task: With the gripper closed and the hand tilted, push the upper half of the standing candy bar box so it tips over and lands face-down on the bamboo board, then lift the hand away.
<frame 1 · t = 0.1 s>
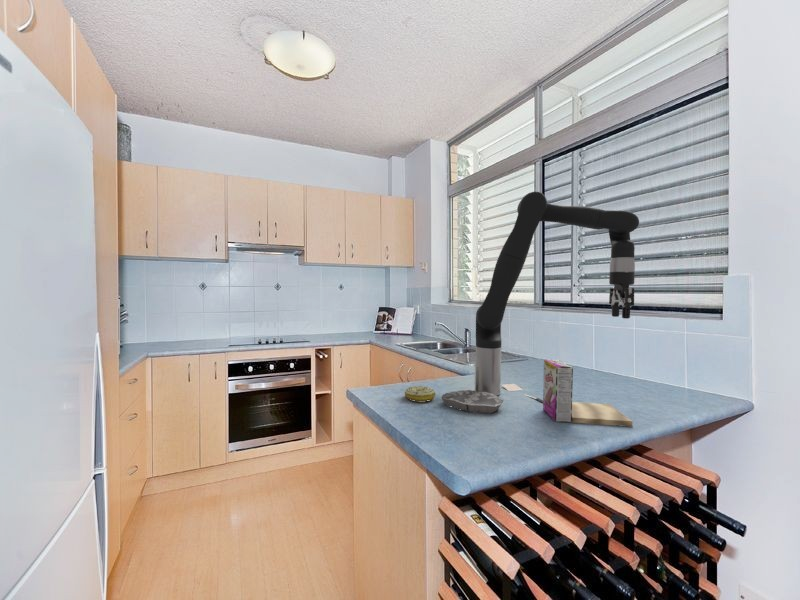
hand: (620, 317, 130), 29 cm above the worktop, tool pointing down, fingers open, 8 cm apart
spatula: (530, 399, 133), on the worktop
flat grey stone: (472, 406, 122), on the worktop
decorated donut: (419, 399, 129), on the worktop
bamboo board: (592, 415, 114), on the worktop
candy bar box: (556, 416, 113), on the worktop
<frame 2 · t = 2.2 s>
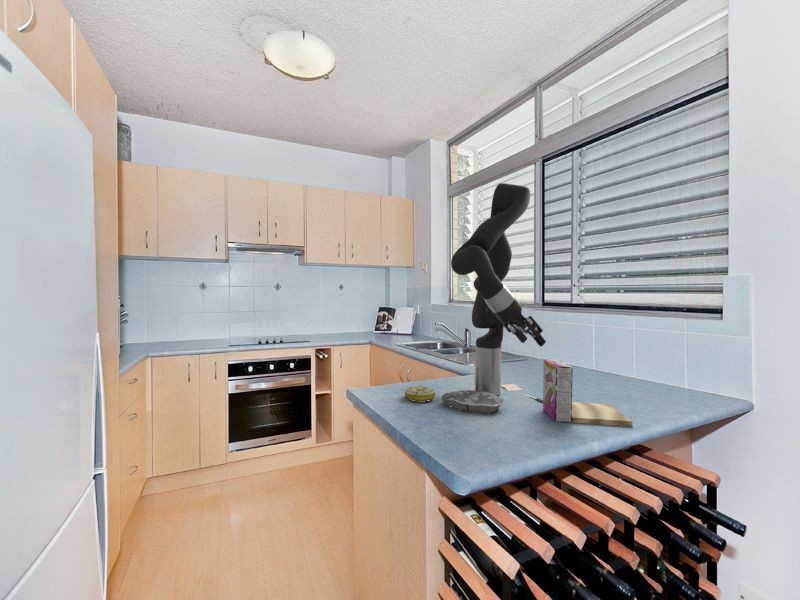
hand: (533, 342, 112), 22 cm above the worktop, tool tilted 45°, fingers open, 8 cm apart
nothing on the worktop moved.
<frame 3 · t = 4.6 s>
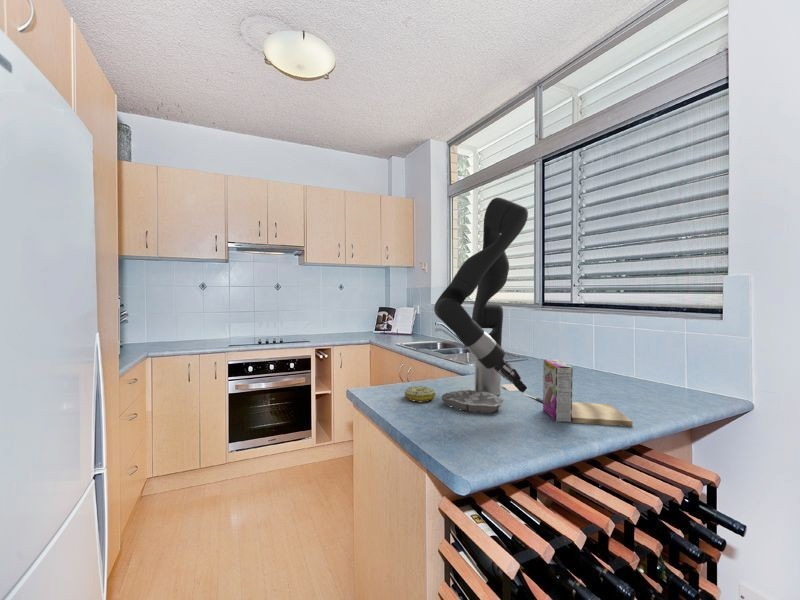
hand: (523, 389, 111), 8 cm above the worktop, tool tilted 45°, fingers closed
nothing on the worktop moved.
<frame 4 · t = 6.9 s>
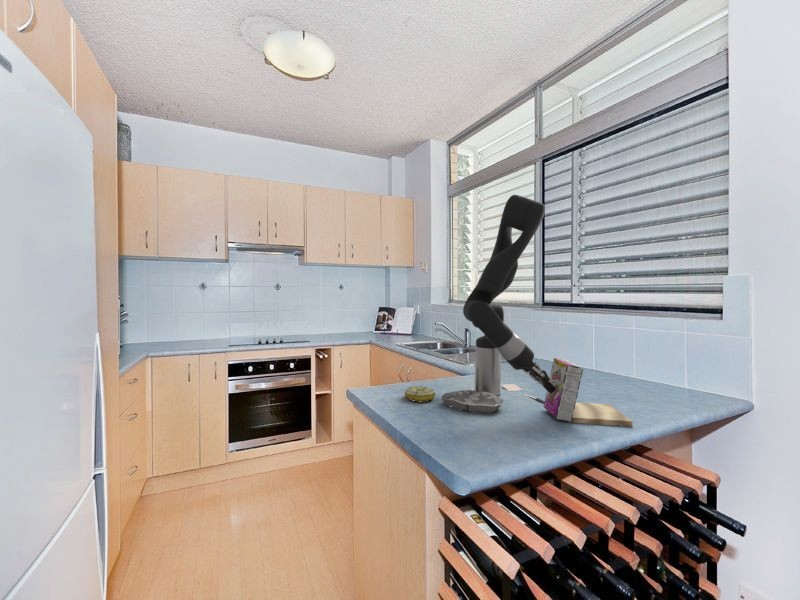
hand: (552, 390, 112), 8 cm above the worktop, tool tilted 45°, fingers closed
candy bar box: (556, 415, 113), on the worktop, touching bamboo board
everything else where it was.
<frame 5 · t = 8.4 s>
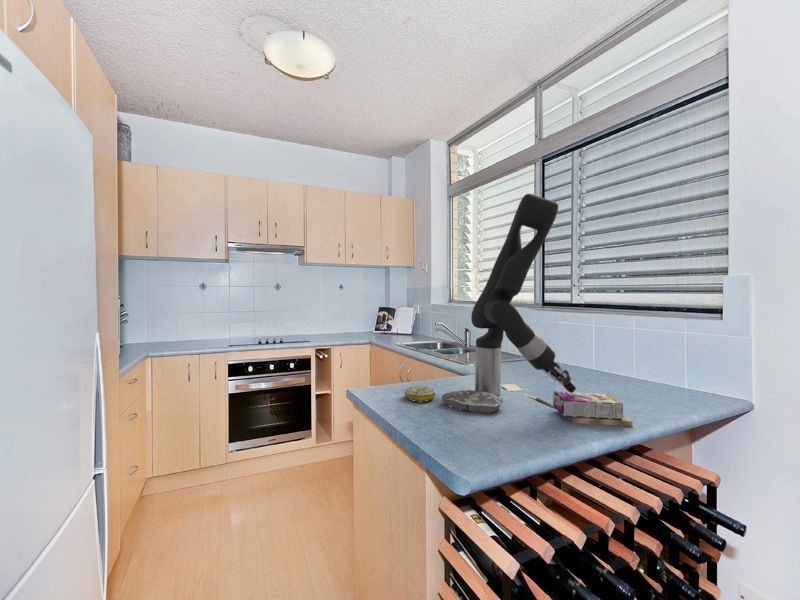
hand: (572, 390, 113), 8 cm above the worktop, tool tilted 45°, fingers closed
candy bar box: (556, 402, 113), point 4 cm above the worktop, touching bamboo board
everything else where it was.
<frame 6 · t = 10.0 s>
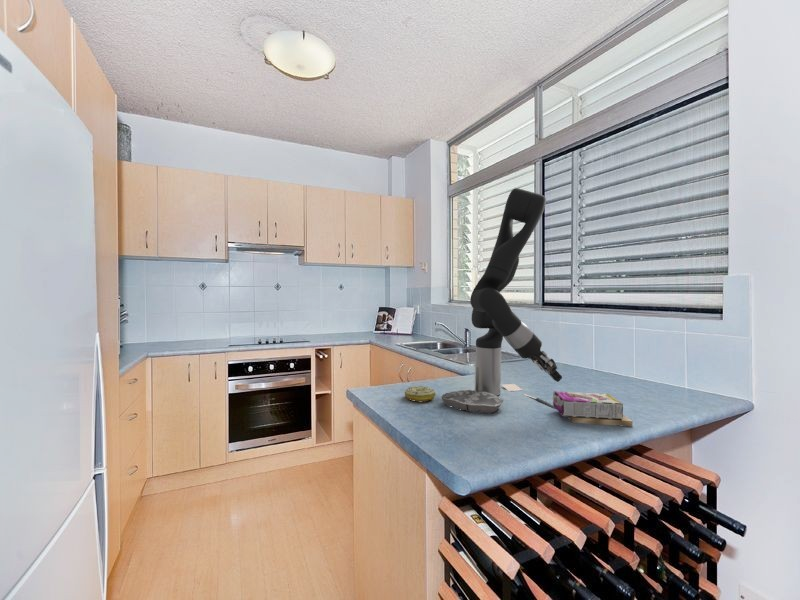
hand: (558, 379, 113), 11 cm above the worktop, tool tilted 45°, fingers closed
nothing on the worktop moved.
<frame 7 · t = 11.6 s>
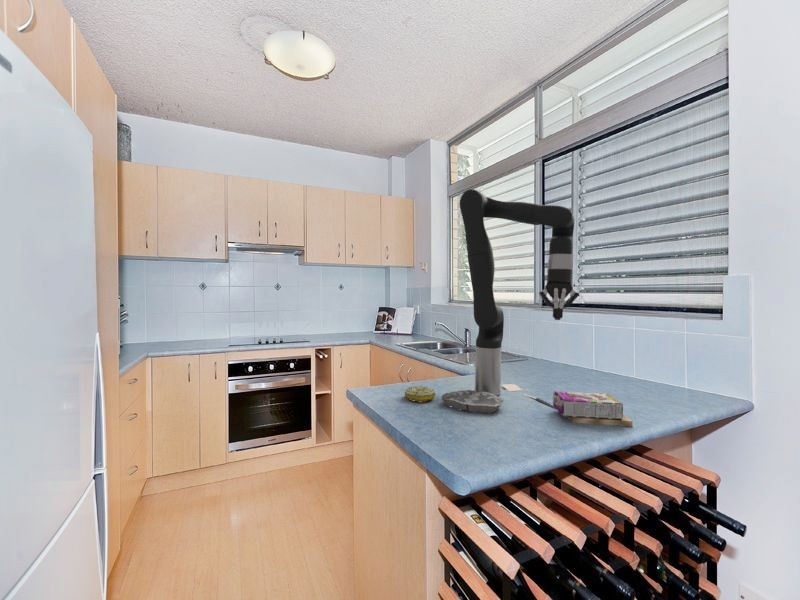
hand: (557, 319, 125), 29 cm above the worktop, tool pointing down, fingers closed
nothing on the worktop moved.
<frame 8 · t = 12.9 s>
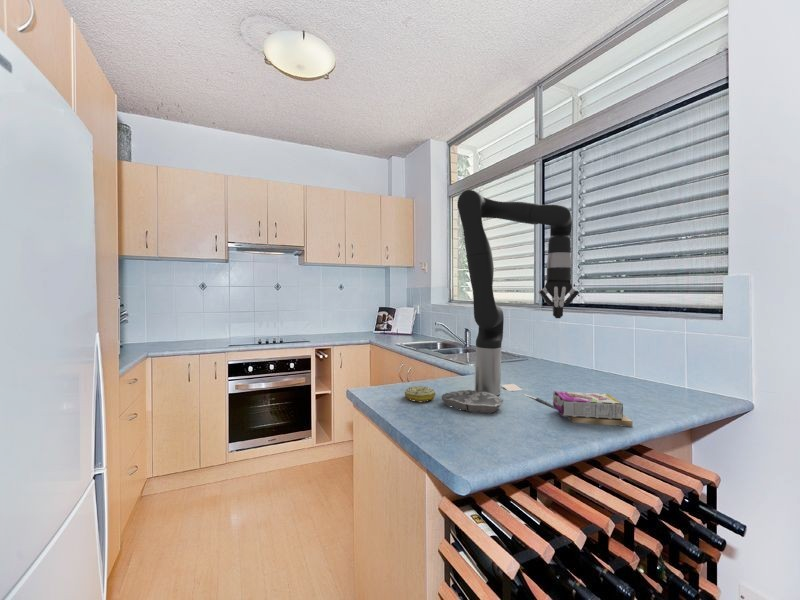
hand: (557, 318, 125), 29 cm above the worktop, tool pointing down, fingers closed
nothing on the worktop moved.
at the end: candy bar box tilted 91°; candy bar box inside the target area (12.1 cm from its centre), point 4.0 cm above the worktop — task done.
